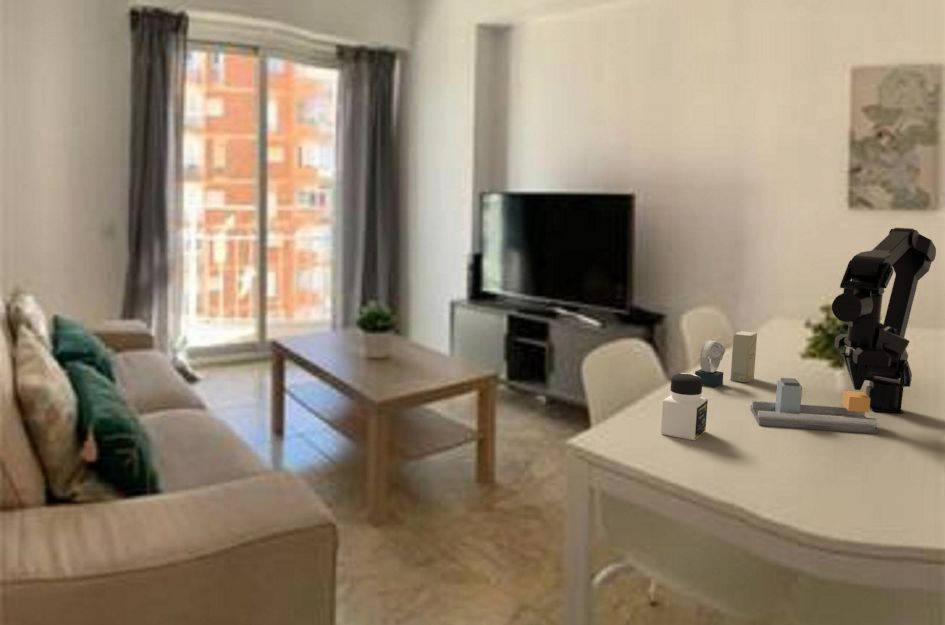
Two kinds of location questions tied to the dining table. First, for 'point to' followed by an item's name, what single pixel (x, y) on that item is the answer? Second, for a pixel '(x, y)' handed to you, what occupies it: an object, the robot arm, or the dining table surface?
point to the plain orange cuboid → (856, 401)
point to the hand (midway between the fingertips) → (857, 389)
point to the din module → (788, 396)
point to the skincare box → (743, 356)
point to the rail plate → (814, 418)
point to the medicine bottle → (684, 408)
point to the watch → (711, 364)
